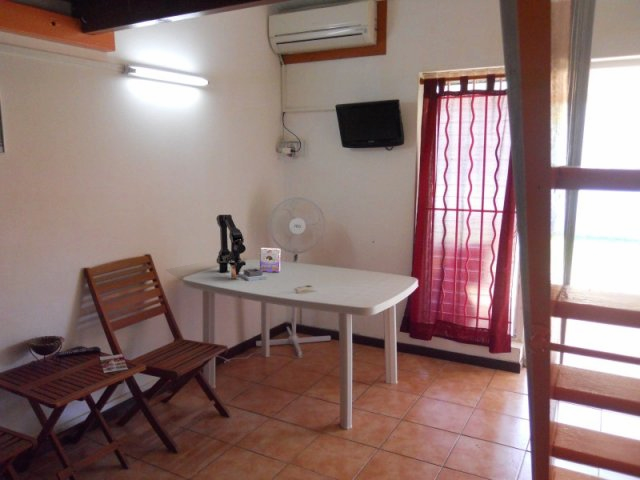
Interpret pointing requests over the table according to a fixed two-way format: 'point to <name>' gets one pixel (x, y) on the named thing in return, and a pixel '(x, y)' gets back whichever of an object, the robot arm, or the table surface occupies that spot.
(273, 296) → the table surface
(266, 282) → the table surface
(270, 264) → the candy box
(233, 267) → the copper canister
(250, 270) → the grey square socket base
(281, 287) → the table surface
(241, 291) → the table surface
